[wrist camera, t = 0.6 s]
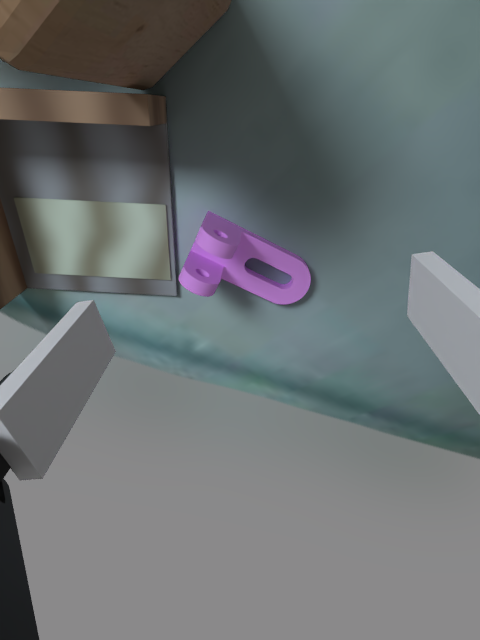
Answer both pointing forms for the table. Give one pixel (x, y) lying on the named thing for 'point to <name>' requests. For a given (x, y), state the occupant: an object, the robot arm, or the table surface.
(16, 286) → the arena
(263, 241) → the bracket
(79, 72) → the wooden block
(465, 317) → the robot arm
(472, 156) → the table surface
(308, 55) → the table surface
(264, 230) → the table surface
